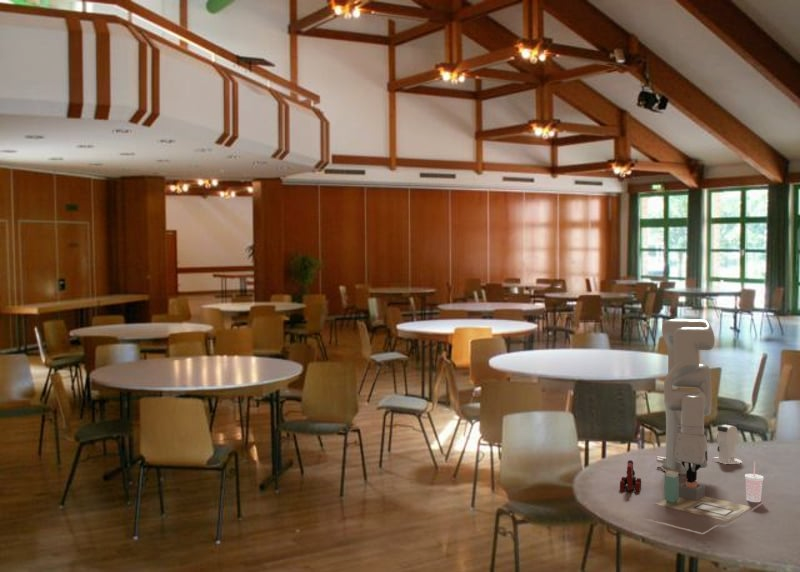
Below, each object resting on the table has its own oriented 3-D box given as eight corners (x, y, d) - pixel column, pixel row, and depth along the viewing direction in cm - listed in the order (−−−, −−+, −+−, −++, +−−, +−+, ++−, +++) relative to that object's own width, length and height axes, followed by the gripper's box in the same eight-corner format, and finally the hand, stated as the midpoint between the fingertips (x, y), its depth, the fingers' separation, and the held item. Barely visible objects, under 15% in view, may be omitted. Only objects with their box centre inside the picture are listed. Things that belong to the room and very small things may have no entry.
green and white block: (664, 502, 280) (665, 472, 279) (669, 500, 282) (669, 470, 282) (673, 505, 277) (674, 474, 277) (678, 502, 280) (679, 472, 279)
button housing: (677, 496, 286) (677, 485, 286) (685, 492, 291) (686, 481, 291) (696, 501, 281) (696, 489, 281) (705, 496, 286) (705, 485, 286)
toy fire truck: (641, 486, 301) (642, 458, 300) (639, 496, 289) (639, 467, 288) (622, 484, 303) (622, 457, 302) (619, 494, 291) (619, 465, 291)
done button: (683, 495, 286) (684, 481, 286) (688, 493, 289) (688, 479, 288) (693, 497, 284) (694, 483, 283) (698, 495, 286) (698, 481, 286)
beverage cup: (754, 505, 279) (756, 465, 278) (740, 500, 284) (741, 460, 284) (766, 502, 282) (768, 462, 281) (751, 497, 287) (753, 458, 286)
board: (654, 505, 279) (654, 503, 279) (681, 492, 293) (681, 490, 293) (727, 523, 261) (727, 520, 261) (751, 508, 276) (751, 506, 276)
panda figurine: (720, 455, 344) (721, 420, 343) (747, 461, 335) (748, 425, 335) (707, 460, 336) (708, 424, 335) (734, 466, 327) (735, 429, 326)
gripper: (667, 428, 287) (666, 479, 288) (708, 435, 277) (707, 488, 278) (676, 424, 293) (675, 475, 294) (718, 431, 282) (716, 483, 283)
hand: (691, 481), depth 286 cm, fingers closed
